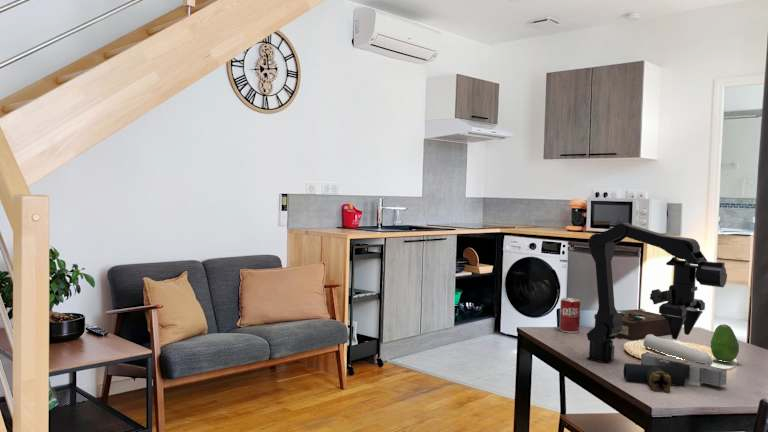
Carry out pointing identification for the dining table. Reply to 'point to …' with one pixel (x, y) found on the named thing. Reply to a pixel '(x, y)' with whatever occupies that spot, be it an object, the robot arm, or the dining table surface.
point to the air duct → (706, 372)
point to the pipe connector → (655, 375)
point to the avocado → (724, 343)
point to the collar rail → (693, 374)
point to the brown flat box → (642, 325)
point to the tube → (676, 349)
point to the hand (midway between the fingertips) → (680, 336)
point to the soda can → (570, 315)
